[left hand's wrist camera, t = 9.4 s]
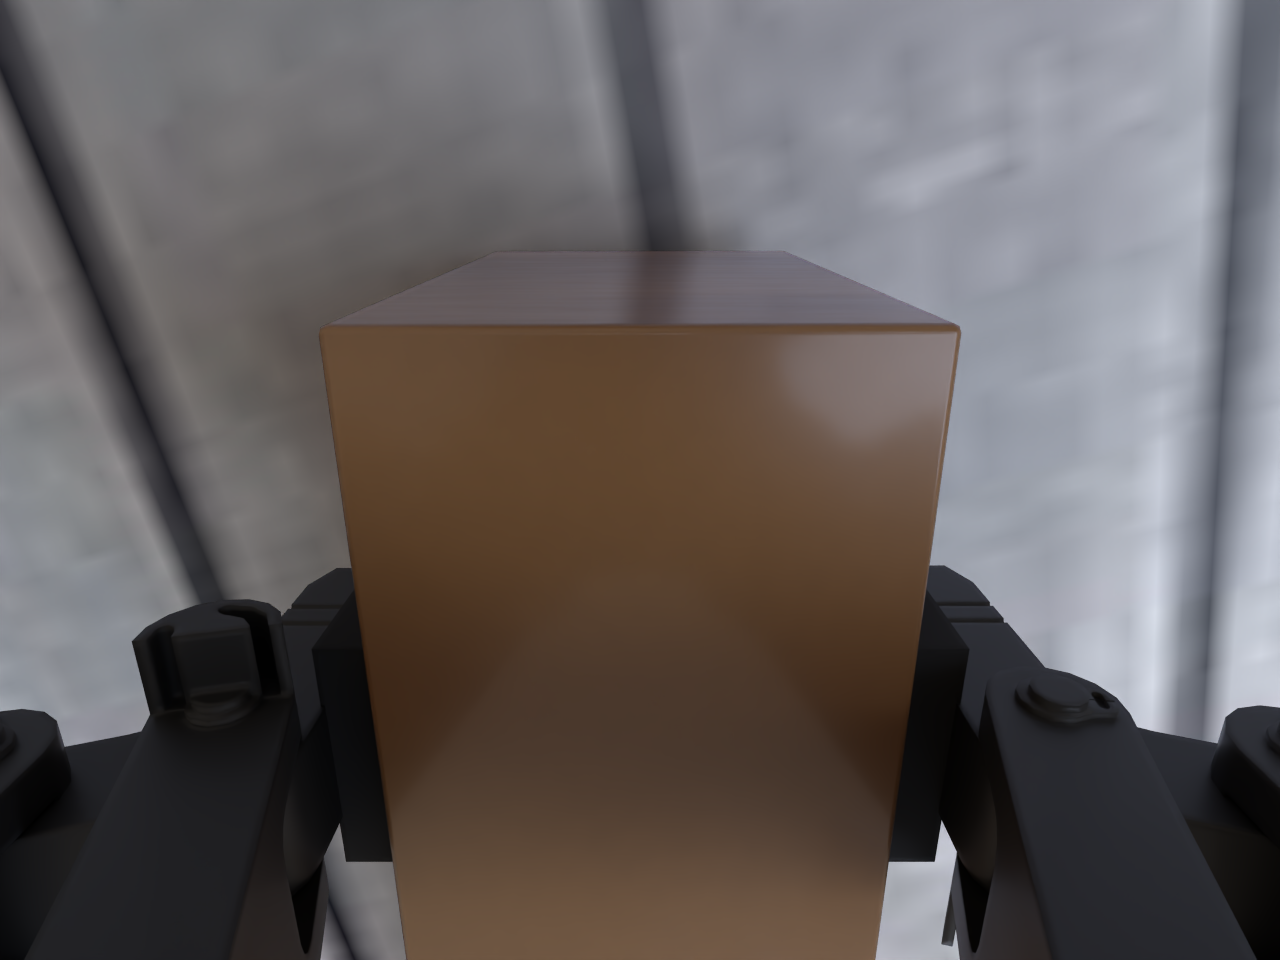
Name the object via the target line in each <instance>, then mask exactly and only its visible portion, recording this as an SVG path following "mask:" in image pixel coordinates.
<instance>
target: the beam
mask: <svg viewBox="0 0 1280 960" xmlns="http://www.w3.org/2000/svg"><path fill="white" fill-rule="evenodd" d="M960 338H961V330H960V327H959V326H958V325H956V324H954V323H951V322H949V321H947V320H944V319H942V318H940V317H937V316H935V315H933V314H930V313H928V312H926V311H923V310H921V309H918V308H916V307H914V306H911V305H909V304H907V303H904V302H902V301H900V300H897V299H895V298H893V297H890V296H888V295H886V294H883V293H881V292H879V291H876V290H874V289H872V288H869V287H867V286H865V285H862V284H860V283H858V282H855V281H853V280H850V279H848V278H846V277H843V276H841V275H839V274H836V273H834V272H832V271H829V270H827V269H825V268H822V267H820V266H818V265H815V264H813V263H811V262H808V261H806V260H804V259H801V258H799V257H797V256H794V255H792V254H790V253H787V252H785V251H496V252H494V253H491V254H489V255H487V256H484V257H482V258H480V259H477V260H475V261H473V262H470V263H468V264H466V265H463V266H461V267H459V268H456V269H454V270H452V271H449V272H447V273H445V274H442V275H440V276H438V277H436V278H433V279H431V280H429V281H426V282H424V283H422V284H419V285H417V286H415V287H412V288H410V289H408V290H405V291H403V292H401V293H398V294H396V295H394V296H391V297H389V298H387V299H384V300H382V301H380V302H377V303H375V304H373V305H370V306H368V307H366V308H363V309H361V310H359V311H356V312H354V313H352V314H350V315H347V316H345V317H343V318H340V319H338V320H336V321H333V322H331V323H329V324H326V325H324V326H322V327H321V328H320V331H319V340H320V347H321V354H322V361H323V368H324V375H325V382H326V390H327V397H328V404H329V411H330V418H331V425H332V432H333V439H334V447H335V454H336V461H337V468H338V475H339V482H340V489H341V496H342V504H343V511H344V518H345V525H346V532H347V539H348V546H349V553H350V561H351V568H352V575H353V582H354V589H355V596H356V603H357V610H358V617H359V625H360V632H361V639H362V646H363V653H364V660H365V667H366V674H367V682H368V689H369V696H370V703H371V710H372V717H373V724H374V731H375V739H376V746H377V753H378V760H379V767H380V774H381V781H382V788H383V795H384V803H385V810H386V817H387V824H388V831H389V838H390V845H391V852H392V860H393V867H394V874H395V881H396V888H397V895H398V902H399V909H400V917H401V924H402V931H403V938H404V945H405V952H406V959H407V960H875V958H876V950H877V943H878V936H879V928H880V921H881V914H882V907H883V899H884V892H885V885H886V877H887V870H888V863H889V856H890V848H891V841H892V834H893V826H894V819H895V812H896V805H897V797H898V790H899V783H900V775H901V768H902V761H903V754H904V746H905V739H906V732H907V725H908V717H909V710H910V703H911V695H912V688H913V681H914V674H915V666H916V659H917V652H918V644H919V637H920V630H921V623H922V615H923V608H924V601H925V593H926V586H927V579H928V572H929V564H930V557H931V550H932V542H933V535H934V528H935V521H936V513H937V506H938V499H939V491H940V484H941V477H942V470H943V462H944V455H945V448H946V440H947V433H948V426H949V419H950V411H951V404H952V397H953V389H954V382H955V375H956V368H957V360H958V353H959V346H960Z"/></svg>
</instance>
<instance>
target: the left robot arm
mask: <svg viewBox="0 0 1280 960" xmlns="http://www.w3.org/2000/svg"><path fill="white" fill-rule="evenodd" d="M132 644H133V648H134V652H135V656H136V660H137V664H138V668H139V672H140V676H141V680H142V684H143V688H144V691H145V695H146V699H147V703H148V707H149V711H150V716H149V718H148V720H147V722H146V724H145V726H144V728H143V730H142V731H141V732H137V733H133V734H129V735H124V736H119V737H114V738H109V739H104V740H98V741H93V742H88V743H83V744H78V745H73V746H67V747H64V744H63V740H62V737H61V734H60V730H59V727H58V724H57V721H56V720H55V719H53V718H52V717H51V716H49V715H48V714H47V713H45V712H41V711H33V710H26V709H18V710H10V711H1V712H0V960H320V958H321V950H322V942H323V935H324V927H325V919H326V912H327V904H328V896H329V886H328V879H327V873H326V867H325V861H324V855H325V853H326V851H327V848H328V846H329V844H330V842H331V840H332V838H333V836H334V834H335V832H336V829H337V827H338V825H339V823H340V827H341V833H342V839H343V845H344V851H345V857H346V862H393V860H392V852H391V845H390V838H389V831H388V824H387V817H386V810H385V803H384V795H383V788H382V781H381V774H380V767H379V760H378V753H377V746H376V739H375V731H374V724H373V717H372V710H371V703H370V696H369V689H368V682H367V674H366V667H365V660H364V653H363V646H362V639H361V632H360V625H359V617H358V610H357V603H356V596H355V589H354V582H353V575H352V568H336V569H335V570H333V571H331V572H330V573H328V574H326V575H324V576H323V577H321V578H319V579H318V580H316V581H314V582H313V583H311V584H309V585H308V586H307V587H306V588H305V590H304V591H303V592H302V593H301V594H300V595H299V597H298V598H297V599H296V600H295V601H294V603H293V604H292V608H291V609H288V610H287V611H286V612H285V613H284V615H283V616H282V617H281V612H280V611H279V610H277V609H276V608H275V607H273V606H272V605H270V604H269V603H265V602H260V601H255V600H250V599H245V600H222V601H216V602H211V603H206V604H200V605H195V606H193V607H190V608H187V609H184V610H181V611H178V612H175V613H172V614H170V615H167V616H166V617H164V618H162V619H160V620H158V621H157V622H155V623H153V624H151V625H149V626H148V627H146V628H145V629H144V630H143V631H142V632H141V633H140V634H139V635H138V636H137V637H136V638H135V639H134V640H133V641H132ZM941 820H942V822H943V824H944V826H945V828H946V830H947V832H948V834H949V836H950V838H951V840H952V842H953V845H954V847H955V849H956V851H957V856H956V861H955V867H954V873H953V878H952V884H951V890H950V895H949V901H948V907H947V912H946V918H945V924H944V930H943V937H942V944H943V945H948V946H953V941H954V935H955V930H956V933H957V941H958V948H959V956H960V960H1280V708H1278V707H1269V706H1252V707H1244V708H1238V709H1236V710H1235V711H1233V712H1232V713H1231V714H1229V715H1228V716H1227V717H1226V718H1225V721H1224V724H1223V728H1222V731H1221V734H1220V737H1219V741H1218V744H1217V743H1212V742H1206V741H1201V740H1196V739H1191V738H1185V737H1180V736H1175V735H1170V734H1165V733H1159V732H1154V731H1150V730H1146V729H1142V728H1138V727H1137V726H1136V724H1135V722H1134V721H1133V719H1132V717H1131V715H1130V713H1129V712H1128V711H1127V710H1126V708H1125V707H1124V706H1123V705H1122V704H1121V702H1120V701H1119V700H1118V699H1117V698H1116V697H1115V696H1113V695H1112V694H1110V693H1109V692H1107V691H1106V690H1104V689H1103V688H1101V687H1100V686H1098V685H1096V684H1095V683H1092V682H1090V681H1087V680H1085V679H1083V678H1080V677H1078V676H1075V675H1073V674H1070V673H1066V672H1062V671H1058V670H1053V669H1049V668H1045V667H1044V666H1043V664H1042V663H1041V662H1040V661H1039V660H1038V659H1037V657H1036V656H1035V655H1034V654H1033V653H1032V651H1031V650H1030V649H1029V648H1028V647H1027V646H1026V644H1025V643H1024V642H1023V641H1022V640H1021V638H1020V637H1019V636H1018V635H1017V634H1016V633H1015V631H1014V630H1013V629H1012V628H1011V627H1010V625H1009V624H1008V623H1004V618H1003V617H1002V616H1001V615H1000V614H999V612H998V611H997V610H996V609H995V608H994V607H993V606H990V602H989V601H988V599H987V598H986V597H985V596H984V595H983V594H982V592H981V591H980V590H979V589H978V588H977V586H976V585H975V584H974V583H973V582H971V581H970V580H968V579H966V578H965V577H963V576H961V575H960V574H958V573H956V572H954V571H953V570H951V569H949V568H948V567H946V566H929V572H928V579H927V586H926V593H925V601H924V608H923V615H922V623H921V630H920V637H919V644H918V652H917V659H916V666H915V674H914V681H913V688H912V695H911V703H910V710H909V717H908V725H907V732H906V739H905V746H904V754H903V761H902V768H901V775H900V783H899V790H898V797H897V805H896V812H895V819H894V826H893V834H892V841H891V848H890V856H889V862H935V856H936V850H937V844H938V838H939V832H940V826H941Z"/></svg>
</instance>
